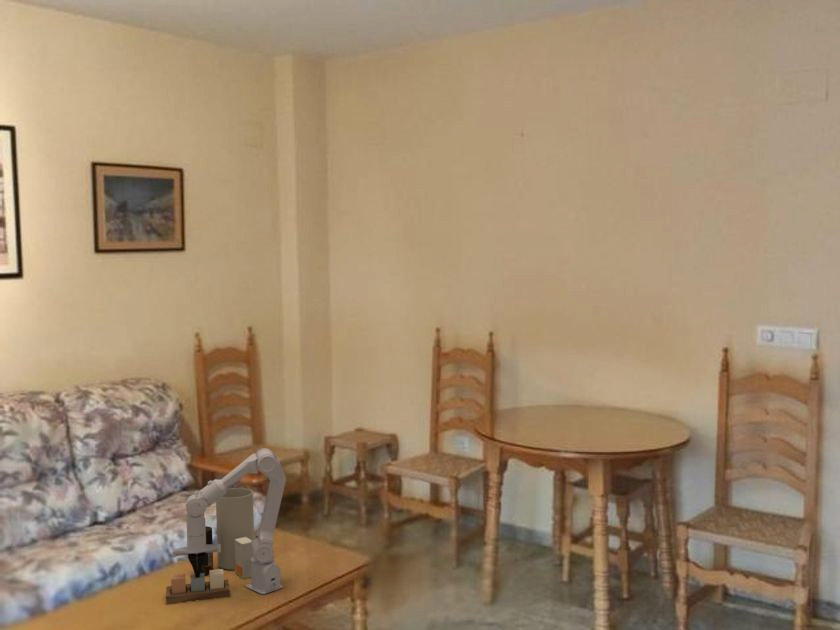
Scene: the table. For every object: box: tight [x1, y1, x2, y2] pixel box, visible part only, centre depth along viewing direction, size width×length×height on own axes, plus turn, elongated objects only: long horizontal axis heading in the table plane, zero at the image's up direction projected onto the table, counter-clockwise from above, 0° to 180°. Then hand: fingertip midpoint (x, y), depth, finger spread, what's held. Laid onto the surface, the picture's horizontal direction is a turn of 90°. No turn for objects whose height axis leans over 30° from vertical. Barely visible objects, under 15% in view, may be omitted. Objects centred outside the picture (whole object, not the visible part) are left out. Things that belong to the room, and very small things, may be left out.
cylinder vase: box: [215, 487, 255, 571], centre depth 285 cm, size 12×12×25 cm
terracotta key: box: [170, 573, 187, 594], centre depth 257 cm, size 4×4×5 cm
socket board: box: [165, 579, 231, 605], centre depth 259 cm, size 9×19×2 cm, turn 106°
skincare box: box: [234, 537, 253, 580], centre depth 274 cm, size 6×4×12 cm
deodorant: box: [196, 525, 214, 577], centre depth 277 cm, size 6×6×15 cm
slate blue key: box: [190, 573, 206, 592], centre depth 258 cm, size 4×4×5 cm
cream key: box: [208, 568, 225, 590], centre depth 260 cm, size 4×4×5 cm
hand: (197, 576), depth 258 cm, fingers closed, pressing on slate blue key
